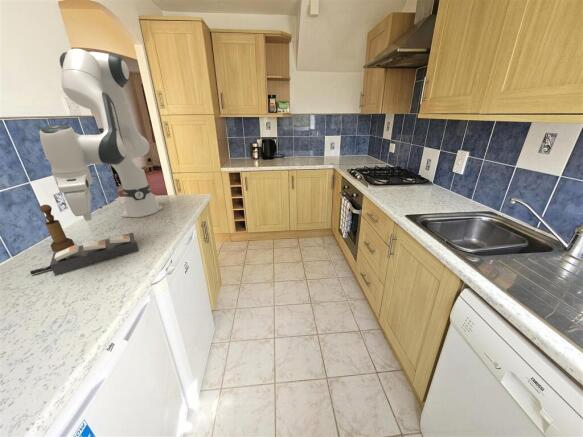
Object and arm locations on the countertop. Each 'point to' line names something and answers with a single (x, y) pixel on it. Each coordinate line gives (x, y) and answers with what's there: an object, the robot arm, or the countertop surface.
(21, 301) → the countertop surface
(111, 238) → the block
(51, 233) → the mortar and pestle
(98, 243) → the rocker middle
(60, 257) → the rocker
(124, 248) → the power strip
